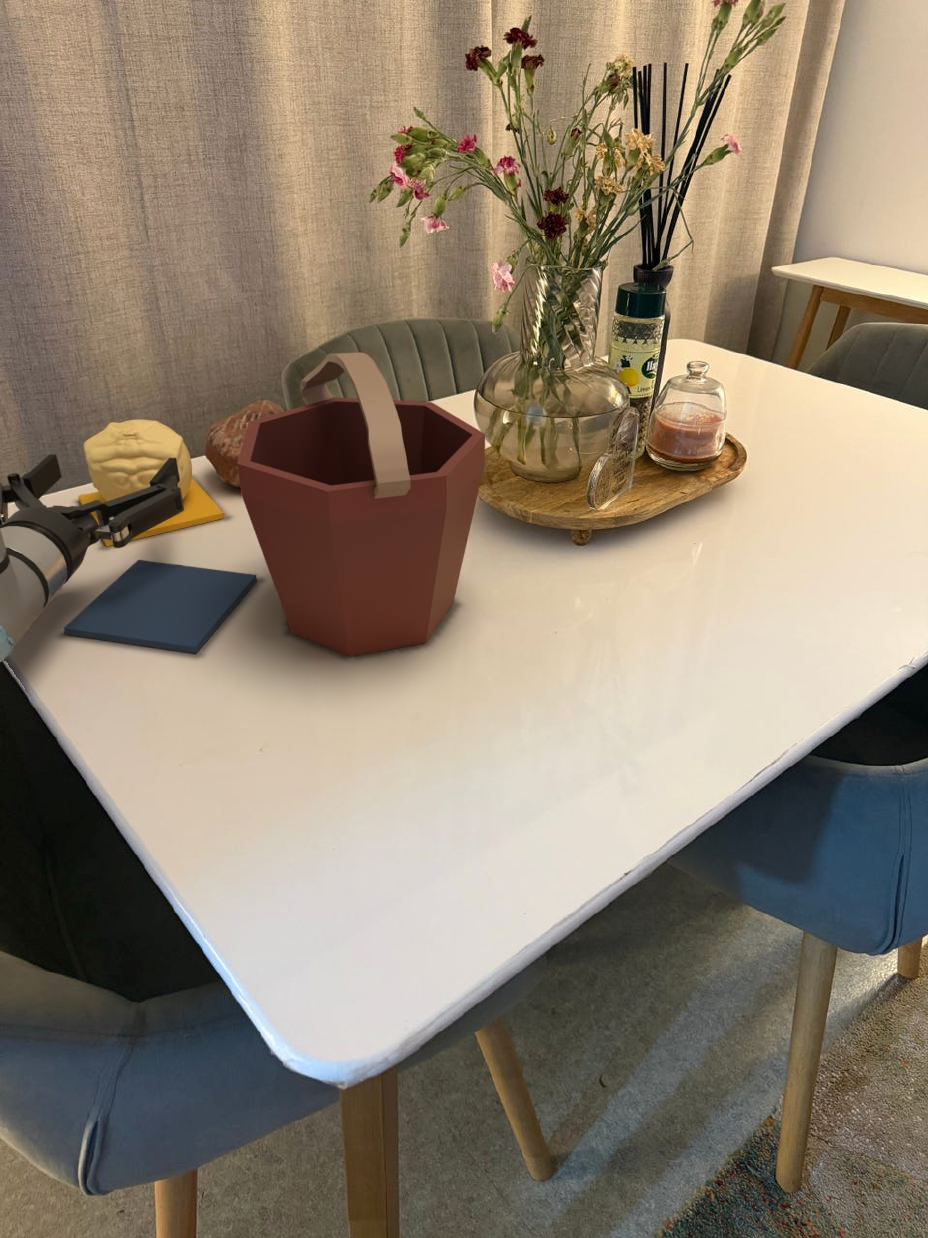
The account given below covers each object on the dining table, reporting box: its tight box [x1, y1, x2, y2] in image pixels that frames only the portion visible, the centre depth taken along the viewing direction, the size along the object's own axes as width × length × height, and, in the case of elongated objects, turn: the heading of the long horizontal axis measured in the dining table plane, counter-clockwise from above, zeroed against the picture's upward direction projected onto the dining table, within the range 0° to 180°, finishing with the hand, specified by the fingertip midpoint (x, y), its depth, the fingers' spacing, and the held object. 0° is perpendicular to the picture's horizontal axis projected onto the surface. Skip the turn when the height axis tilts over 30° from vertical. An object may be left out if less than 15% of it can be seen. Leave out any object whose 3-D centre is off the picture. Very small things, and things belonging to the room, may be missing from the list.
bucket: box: [237, 352, 486, 658], centre depth 85 cm, size 24×22×25 cm
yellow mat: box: [77, 477, 225, 547], centre depth 110 cm, size 14×14×1 cm
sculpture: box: [83, 419, 193, 501], centre depth 107 cm, size 12×12×11 cm
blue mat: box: [63, 559, 258, 655], centre depth 91 cm, size 14×14×1 cm
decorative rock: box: [204, 399, 284, 488], centre depth 116 cm, size 13×11×10 cm
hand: (115, 467), depth 100 cm, fingers open, 13 cm apart
